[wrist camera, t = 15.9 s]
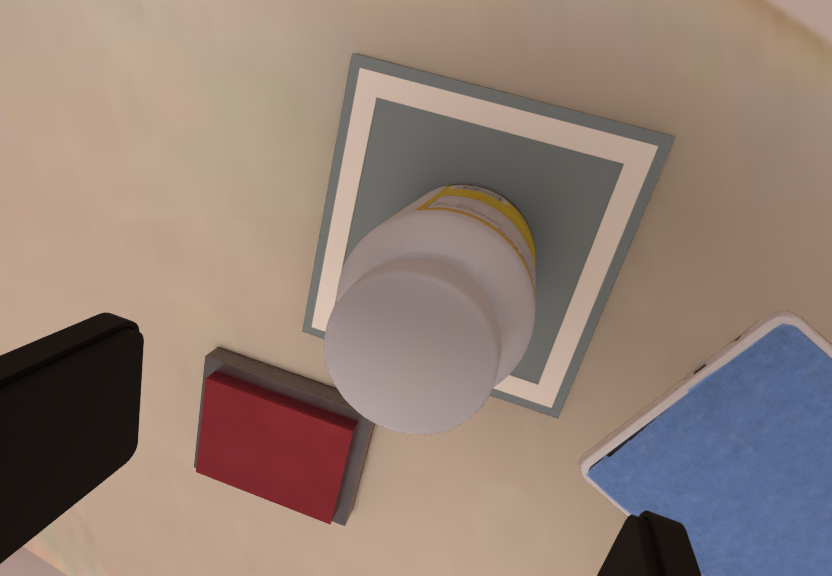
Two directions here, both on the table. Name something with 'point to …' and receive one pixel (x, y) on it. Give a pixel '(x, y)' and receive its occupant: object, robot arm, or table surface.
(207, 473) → the ink pad
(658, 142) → the marked board
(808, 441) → the blue flat pad
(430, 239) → the pill bottle
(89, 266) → the table surface
